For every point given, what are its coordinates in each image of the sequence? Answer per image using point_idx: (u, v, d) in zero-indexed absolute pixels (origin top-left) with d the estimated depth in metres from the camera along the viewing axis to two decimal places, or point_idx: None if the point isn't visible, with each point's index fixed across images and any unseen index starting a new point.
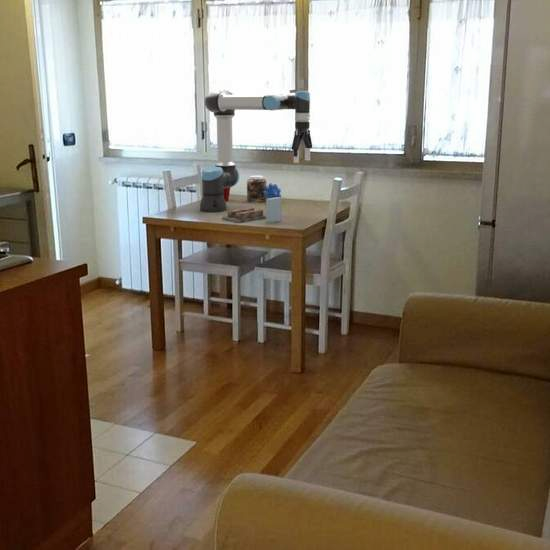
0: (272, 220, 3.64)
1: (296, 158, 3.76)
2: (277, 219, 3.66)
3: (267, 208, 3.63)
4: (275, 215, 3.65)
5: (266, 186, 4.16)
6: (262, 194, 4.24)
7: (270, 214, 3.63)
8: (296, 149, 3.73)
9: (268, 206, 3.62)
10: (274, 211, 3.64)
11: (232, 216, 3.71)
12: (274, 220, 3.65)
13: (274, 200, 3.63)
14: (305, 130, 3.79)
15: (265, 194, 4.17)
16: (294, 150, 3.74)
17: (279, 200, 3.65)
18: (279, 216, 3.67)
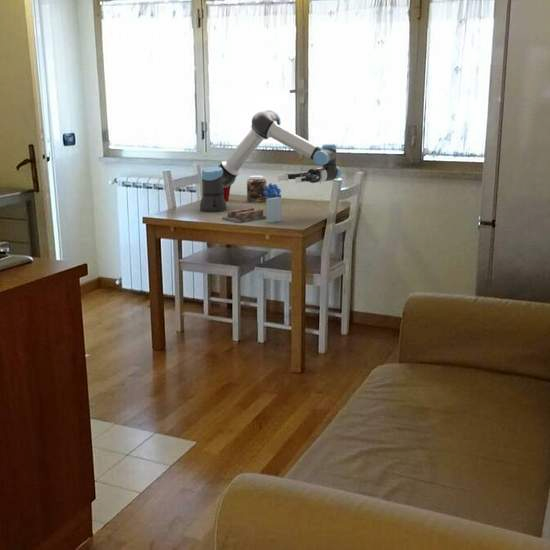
0: (272, 220, 3.64)
1: (299, 180, 3.64)
2: (277, 219, 3.66)
3: (267, 208, 3.63)
4: (275, 215, 3.65)
5: (266, 186, 4.16)
6: (262, 194, 4.24)
7: (270, 214, 3.63)
8: (308, 180, 3.66)
9: (268, 206, 3.62)
10: (274, 211, 3.64)
11: (232, 216, 3.71)
12: (274, 220, 3.65)
13: (274, 200, 3.63)
14: None
15: (265, 194, 4.17)
16: (307, 178, 3.65)
17: (279, 200, 3.65)
18: (279, 216, 3.67)
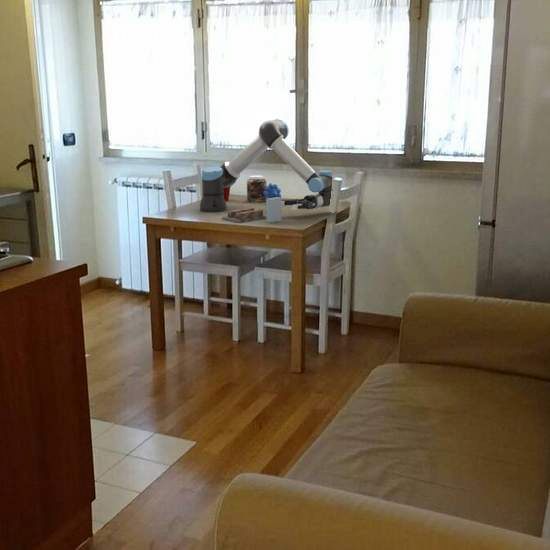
0: (272, 220, 3.64)
1: (296, 208, 3.65)
2: (277, 219, 3.66)
3: (267, 208, 3.63)
4: (275, 215, 3.65)
5: (266, 186, 4.16)
6: (262, 194, 4.24)
7: (270, 214, 3.63)
8: (304, 208, 3.67)
9: (268, 206, 3.62)
10: (274, 211, 3.64)
11: (232, 216, 3.71)
12: (274, 220, 3.65)
13: (274, 200, 3.63)
14: None
15: (265, 194, 4.17)
16: (303, 206, 3.67)
17: (279, 200, 3.65)
18: (279, 216, 3.67)
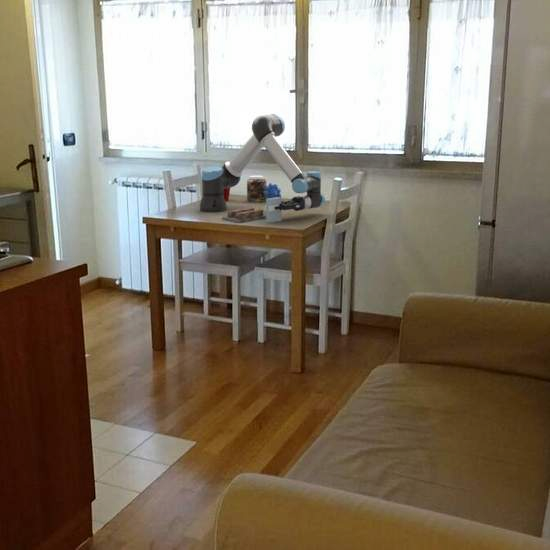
0: (272, 220, 3.64)
1: (272, 208, 3.62)
2: (277, 219, 3.66)
3: (267, 208, 3.63)
4: (275, 215, 3.65)
5: (266, 186, 4.16)
6: (262, 194, 4.24)
7: (270, 214, 3.63)
8: (281, 209, 3.64)
9: (268, 206, 3.62)
10: (274, 211, 3.64)
11: (232, 216, 3.71)
12: (274, 220, 3.65)
13: (274, 200, 3.63)
14: None
15: (265, 194, 4.17)
16: (280, 207, 3.64)
17: (279, 200, 3.65)
18: (279, 216, 3.67)
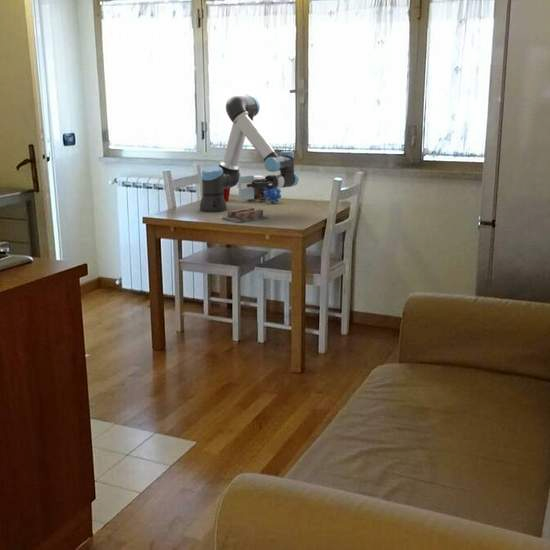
0: (245, 198, 3.69)
1: (245, 186, 3.67)
2: (250, 196, 3.71)
3: (240, 186, 3.67)
4: (248, 193, 3.70)
5: None
6: (262, 194, 4.24)
7: (243, 191, 3.67)
8: (254, 186, 3.69)
9: None
10: (247, 189, 3.69)
11: (232, 216, 3.71)
12: (247, 198, 3.70)
13: (247, 178, 3.67)
14: None
15: (265, 194, 4.17)
16: (253, 184, 3.68)
17: (252, 178, 3.70)
18: (252, 194, 3.72)
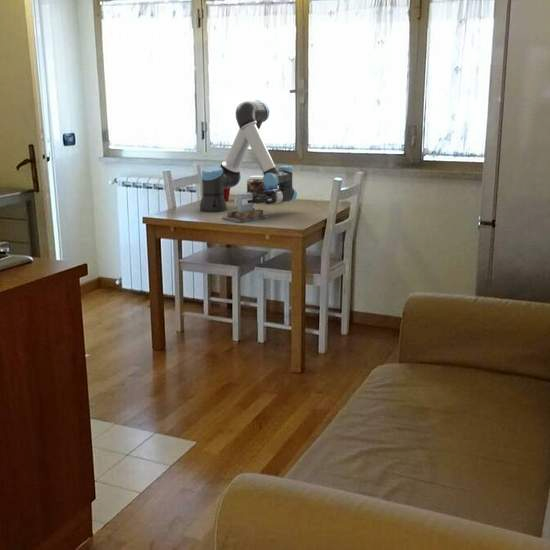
0: None
1: (246, 202, 3.69)
2: None
3: (238, 203, 3.70)
4: (246, 210, 3.73)
5: (266, 186, 4.16)
6: None
7: (241, 209, 3.70)
8: (254, 202, 3.71)
9: (239, 201, 3.69)
10: (246, 206, 3.72)
11: (232, 216, 3.71)
12: None
13: (245, 195, 3.70)
14: None
15: None
16: (253, 200, 3.70)
17: (250, 195, 3.72)
18: None
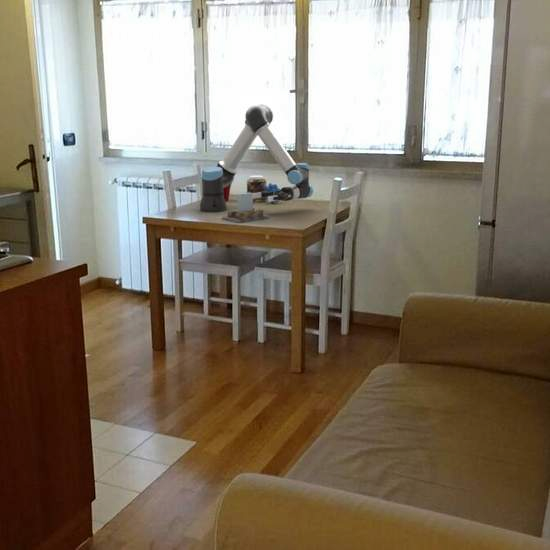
0: None
1: (271, 199, 3.75)
2: None
3: (238, 203, 3.70)
4: (246, 210, 3.73)
5: (266, 186, 4.16)
6: None
7: (241, 209, 3.70)
8: (280, 199, 3.77)
9: (239, 201, 3.69)
10: (246, 206, 3.72)
11: (232, 216, 3.71)
12: None
13: (245, 195, 3.70)
14: None
15: None
16: (279, 197, 3.76)
17: (250, 195, 3.72)
18: None
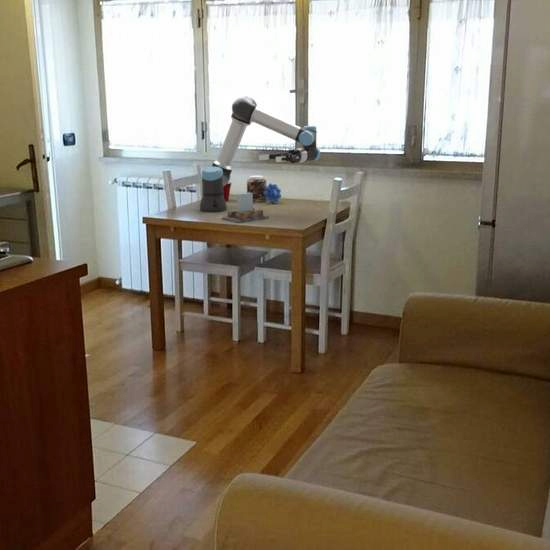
0: None
1: (280, 159, 3.74)
2: None
3: (238, 203, 3.70)
4: (246, 210, 3.73)
5: (266, 186, 4.16)
6: (262, 194, 4.24)
7: (241, 209, 3.70)
8: (288, 160, 3.77)
9: (239, 201, 3.69)
10: (246, 206, 3.72)
11: (232, 216, 3.71)
12: None
13: (245, 195, 3.70)
14: None
15: (265, 194, 4.17)
16: (287, 158, 3.76)
17: (250, 195, 3.72)
18: None
